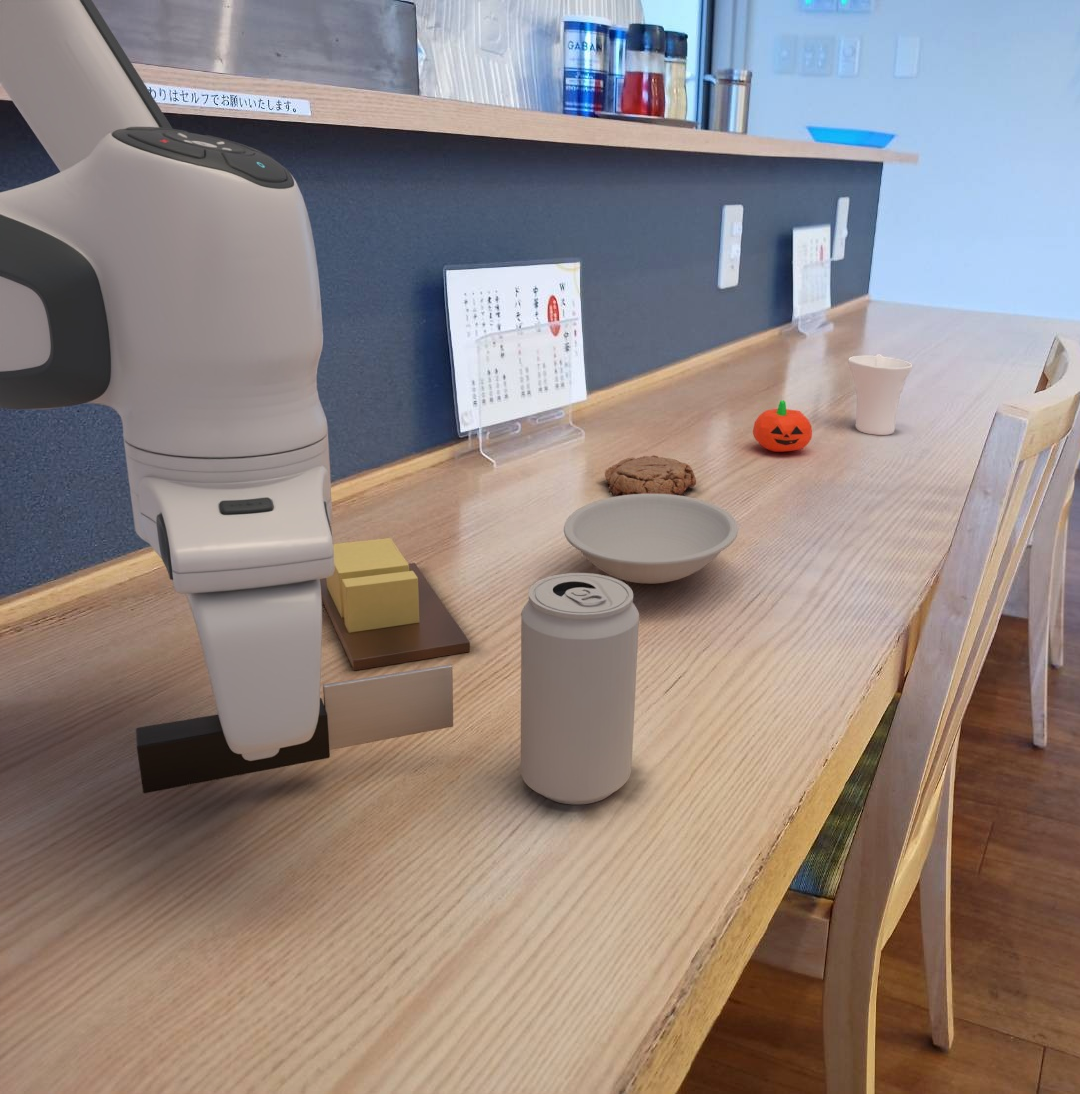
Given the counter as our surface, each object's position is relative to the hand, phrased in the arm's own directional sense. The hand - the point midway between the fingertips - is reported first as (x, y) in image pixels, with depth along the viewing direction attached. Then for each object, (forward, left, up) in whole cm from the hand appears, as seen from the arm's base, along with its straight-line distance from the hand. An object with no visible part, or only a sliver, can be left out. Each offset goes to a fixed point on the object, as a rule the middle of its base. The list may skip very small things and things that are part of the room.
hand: (256, 736), depth 55 cm
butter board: (+11, +21, -4) cm, 24 cm away
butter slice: (+10, +18, -3) cm, 21 cm away
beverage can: (+16, -5, -4) cm, 18 cm away
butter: (+10, +23, -3) cm, 25 cm away
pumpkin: (+67, +54, -4) cm, 86 cm away
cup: (+86, +60, -4) cm, 105 cm away
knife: (+3, 0, -2) cm, 3 cm away
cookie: (+44, +44, -4) cm, 62 cm away
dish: (+33, +21, -4) cm, 39 cm away
